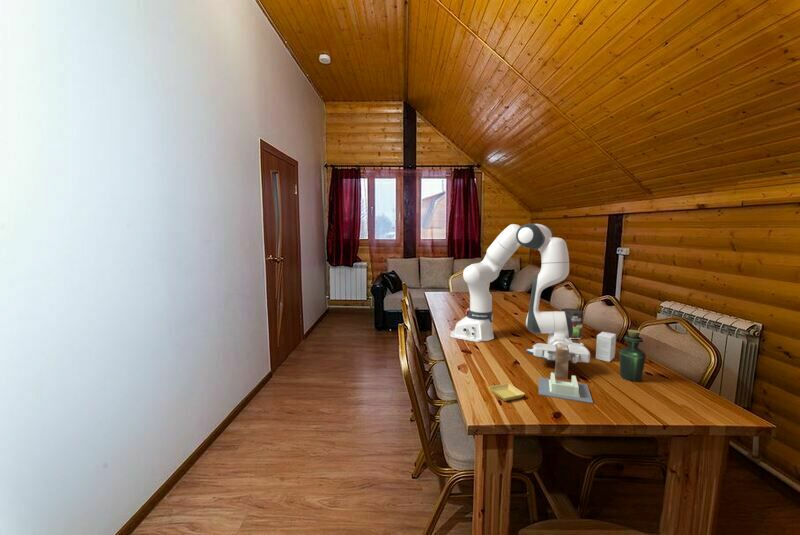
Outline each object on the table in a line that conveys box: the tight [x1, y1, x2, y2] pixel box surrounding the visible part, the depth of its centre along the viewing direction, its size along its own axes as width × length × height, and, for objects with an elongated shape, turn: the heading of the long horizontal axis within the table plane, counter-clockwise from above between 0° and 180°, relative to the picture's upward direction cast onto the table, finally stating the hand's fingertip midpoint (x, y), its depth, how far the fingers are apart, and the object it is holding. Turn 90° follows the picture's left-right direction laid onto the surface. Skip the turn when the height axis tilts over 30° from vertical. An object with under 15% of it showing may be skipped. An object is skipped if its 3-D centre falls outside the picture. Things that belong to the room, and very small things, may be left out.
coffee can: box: [560, 307, 584, 340], centre depth 175 cm, size 10×10×14 cm
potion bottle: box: [618, 329, 647, 382], centre depth 125 cm, size 8×8×18 cm
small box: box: [595, 331, 617, 362], centre depth 145 cm, size 8×6×10 cm
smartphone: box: [525, 347, 555, 364], centre depth 148 cm, size 9×2×16 cm
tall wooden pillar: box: [554, 344, 569, 380], centre depth 127 cm, size 4×6×11 cm, turn 158°
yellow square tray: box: [488, 382, 526, 402], centre depth 112 cm, size 9×9×2 cm
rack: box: [549, 371, 580, 398], centre depth 116 cm, size 9×10×3 cm
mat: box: [537, 376, 594, 404], centre depth 116 cm, size 16×14×1 cm
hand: (561, 359), depth 127 cm, fingers open, 7 cm apart
